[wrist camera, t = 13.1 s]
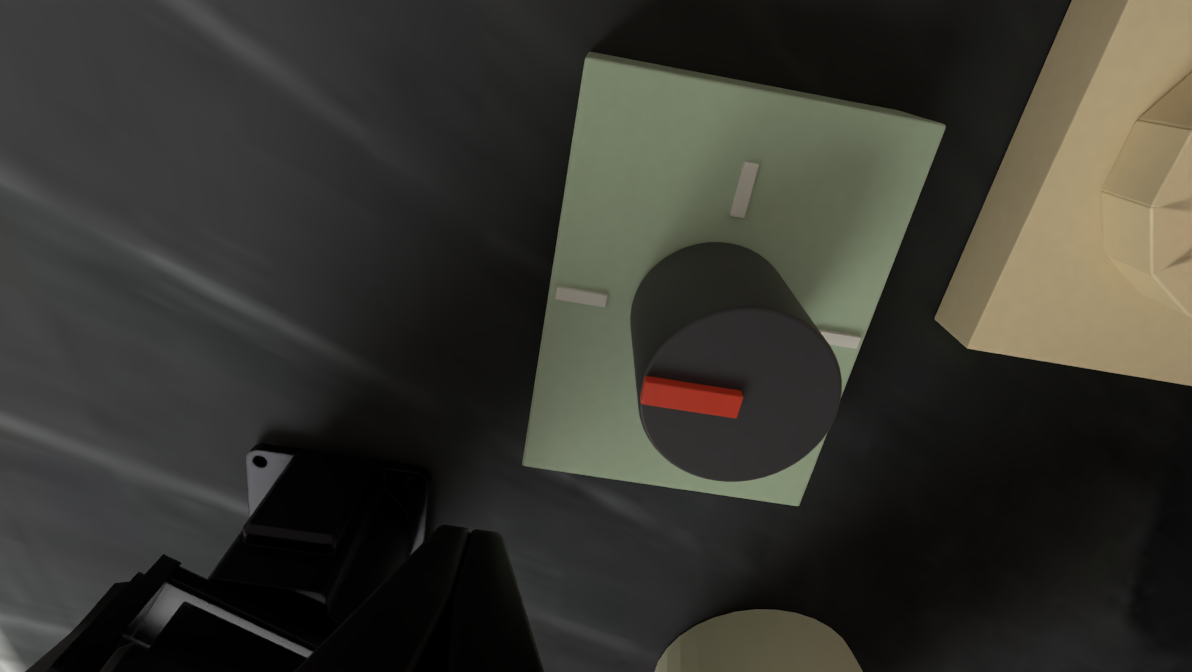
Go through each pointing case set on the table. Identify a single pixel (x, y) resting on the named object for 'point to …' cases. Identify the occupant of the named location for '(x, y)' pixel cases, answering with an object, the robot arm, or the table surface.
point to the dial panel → (709, 239)
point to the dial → (729, 365)
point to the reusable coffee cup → (759, 645)
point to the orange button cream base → (1092, 204)
